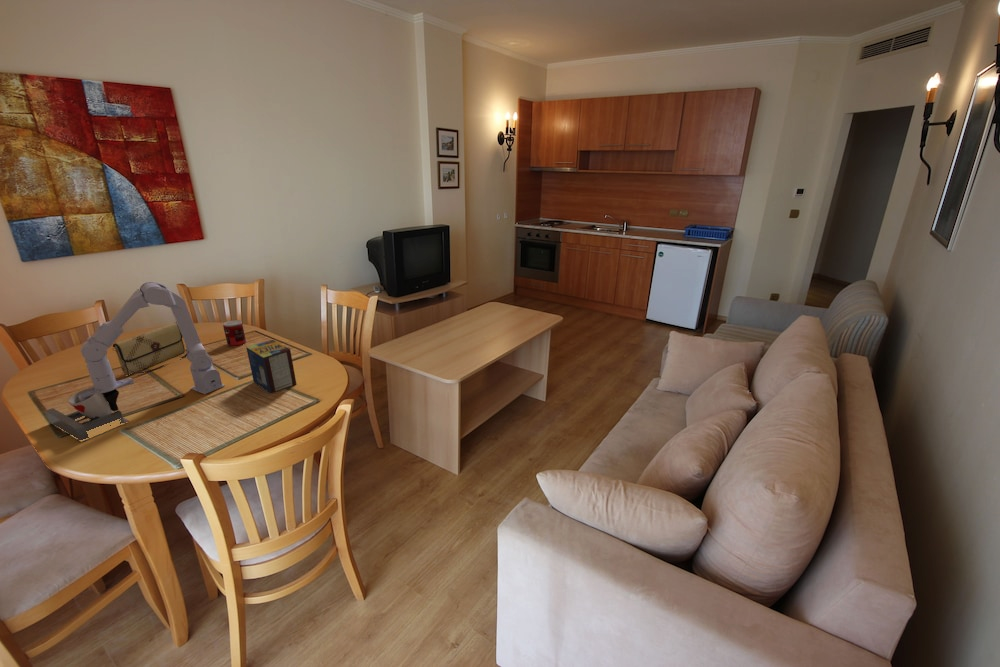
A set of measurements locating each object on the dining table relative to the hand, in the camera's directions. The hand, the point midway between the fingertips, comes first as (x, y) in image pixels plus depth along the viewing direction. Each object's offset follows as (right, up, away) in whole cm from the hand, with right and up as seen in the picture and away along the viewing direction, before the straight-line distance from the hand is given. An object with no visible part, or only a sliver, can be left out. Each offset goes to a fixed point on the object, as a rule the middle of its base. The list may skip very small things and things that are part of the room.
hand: (114, 410), depth 150 cm
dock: (-3, -3, -5) cm, 6 cm away
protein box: (+44, +6, +23) cm, 50 cm away
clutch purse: (-13, +13, +38) cm, 42 cm away
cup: (-1, -2, -3) cm, 3 cm away
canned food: (+6, +21, +60) cm, 64 cm away
